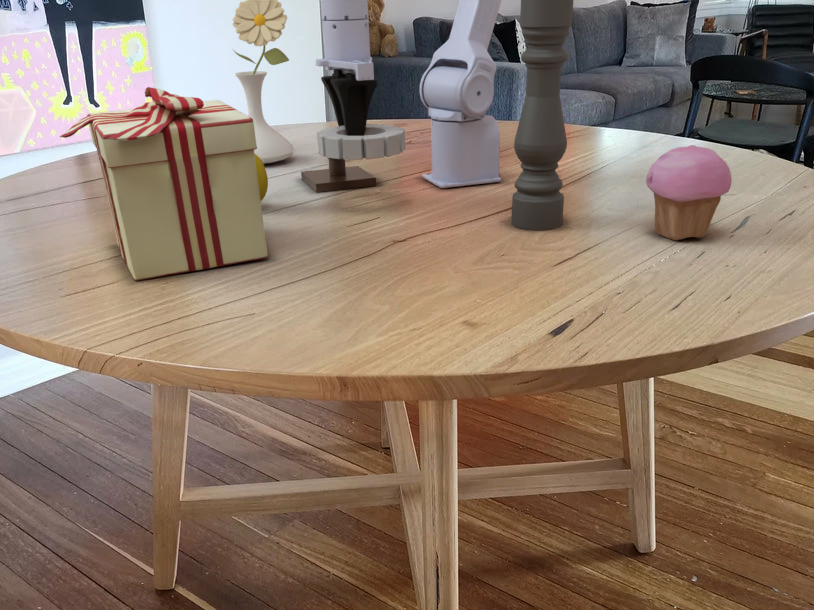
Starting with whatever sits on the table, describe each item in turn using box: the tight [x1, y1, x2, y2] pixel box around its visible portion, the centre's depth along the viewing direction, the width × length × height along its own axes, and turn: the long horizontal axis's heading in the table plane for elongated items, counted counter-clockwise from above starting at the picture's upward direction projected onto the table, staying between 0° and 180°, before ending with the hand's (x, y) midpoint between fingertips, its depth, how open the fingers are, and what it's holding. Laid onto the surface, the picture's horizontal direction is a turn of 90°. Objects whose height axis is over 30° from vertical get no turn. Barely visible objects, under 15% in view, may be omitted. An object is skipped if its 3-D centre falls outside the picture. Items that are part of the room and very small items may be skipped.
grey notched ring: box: [316, 123, 406, 161], centre depth 104 cm, size 11×11×2 cm
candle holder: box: [511, 0, 574, 231], centre depth 94 cm, size 6×6×25 cm
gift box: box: [59, 86, 269, 282], centre depth 88 cm, size 17×18×17 cm
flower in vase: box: [232, 0, 295, 165], centre depth 131 cm, size 13×11×25 cm
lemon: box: [254, 154, 269, 202], centre depth 108 cm, size 6×6×8 cm
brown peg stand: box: [300, 158, 377, 193], centre depth 121 cm, size 9×9×6 cm
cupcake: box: [645, 144, 732, 241], centre depth 91 cm, size 9×9×10 cm
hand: (352, 134), depth 107 cm, fingers closed on grey notched ring, 2 cm apart
